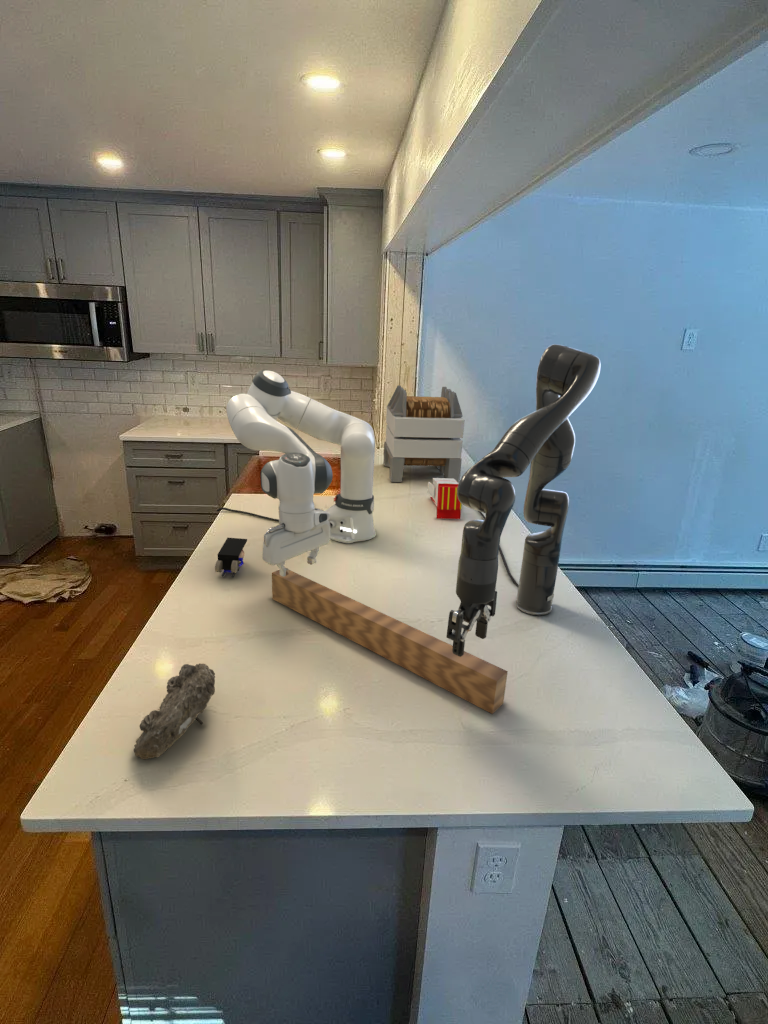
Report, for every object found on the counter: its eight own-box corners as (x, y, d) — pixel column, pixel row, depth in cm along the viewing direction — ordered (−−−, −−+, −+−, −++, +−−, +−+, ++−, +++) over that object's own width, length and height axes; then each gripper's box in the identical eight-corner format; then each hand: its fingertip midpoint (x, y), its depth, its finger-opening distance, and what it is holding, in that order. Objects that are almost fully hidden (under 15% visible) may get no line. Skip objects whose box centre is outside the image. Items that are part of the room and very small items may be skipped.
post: (272, 598, 152) (271, 572, 149) (284, 593, 155) (284, 567, 153) (492, 714, 112) (496, 681, 110) (503, 703, 116) (507, 671, 113)
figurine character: (238, 584, 162) (249, 557, 175) (236, 562, 158) (247, 536, 172) (215, 584, 161) (227, 556, 175) (212, 561, 158) (225, 535, 171)
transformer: (382, 463, 289) (386, 382, 275) (445, 464, 293) (451, 384, 279) (390, 482, 257) (394, 392, 243) (460, 483, 261) (468, 394, 247)
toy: (455, 474, 240) (467, 485, 211) (453, 505, 243) (464, 520, 214) (426, 473, 240) (434, 484, 211) (425, 504, 243) (432, 519, 213)
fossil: (165, 664, 116) (216, 632, 111) (198, 695, 118) (250, 665, 113) (108, 752, 96) (167, 718, 91) (150, 786, 99) (209, 755, 94)
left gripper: (272, 533, 131) (274, 586, 136) (334, 511, 146) (334, 560, 151) (255, 526, 135) (258, 578, 140) (317, 506, 150) (317, 553, 155)
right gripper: (474, 593, 101) (465, 669, 107) (512, 568, 112) (503, 638, 118) (439, 579, 106) (433, 653, 112) (480, 556, 116) (472, 624, 122)
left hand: (298, 569), depth 146 cm, fingers open, 8 cm apart
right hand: (469, 645), depth 115 cm, fingers open, 8 cm apart
